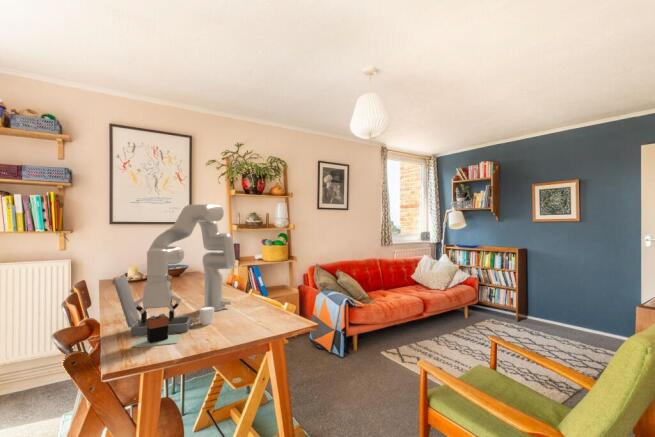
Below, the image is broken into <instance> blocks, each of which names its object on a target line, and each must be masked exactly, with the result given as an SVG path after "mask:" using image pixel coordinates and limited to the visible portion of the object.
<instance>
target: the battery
mask: <svg viewBox="0 0 655 437" xmlns="http://www.w3.org/2000/svg"><path fill="white" fill-rule="evenodd" d="M168 318H169V316H167V315H166V314H165V313H160V314H158V315H156V316H155V315H151V316H150V317H147V335H146V337H147V341H149V342H150V343H153V342H158V341H162V340H166V339H168V335H169V333H168Z"/></svg>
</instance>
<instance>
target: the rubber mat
mask: <svg viewBox="0 0 655 437" xmlns="http://www.w3.org/2000/svg"><path fill="white" fill-rule="evenodd" d="M181 336H182V334H181V333H180V334H168V339H166V340H162V341H158V342H153V343H150V342H149V341H147V336H145V337H144V336H143V337H138V338H137V339H136V341H135V342H134V343H133V344H132V345H131V346H130V348H131V349H134V348H133V347H136V348H143V347H144V348H145V347H153V346H154V347H155V346H156V347H157V346H167V345H176V344H177V343H178V341H179V340H180V338H181Z"/></svg>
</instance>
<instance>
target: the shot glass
mask: <svg viewBox="0 0 655 437" xmlns="http://www.w3.org/2000/svg"><path fill="white" fill-rule="evenodd" d="M202 307H203V306H202ZM202 307H201V308H199V310H198V311H199V320H200V321H199V322H200V324H201V325H205V326H207V325H211V324H213V323H214V316H215V311H214V307H203V308H202Z"/></svg>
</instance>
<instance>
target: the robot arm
mask: <svg viewBox="0 0 655 437" xmlns="http://www.w3.org/2000/svg"><path fill="white" fill-rule="evenodd" d="M224 214H225V212H224V208H223V206H221V205H220V204H188V205H186V206H184V207H183V208H182V210H181V212H180V213H179V215H178V217H177V219H176V220H175V222H174V224H173V226H171V227H169V228H168V229H166V230H165V231H163V232H162V233H160V234H159V235H158V236H157V237H156V238H154V240H153V241H152V243H151V245H150V247H149V249H148V251H146V283H144V287H143V288H144V289H143V297H141V298H140V299H138V300H136V301H135V300H134V303H133V304H134V306H135V307H136V309H137V312H138V313H139V314H140V318H141V321H143V323H145V322H146V321H147V319H148V316H147V315H148V314H147V311H146V310H147V309H159V308H167V309H168V310H169V312H168V318H169V321H172V319H173V318H174V317H175V310H176V309H177V308H178V307H179V305H180V303H181V301H182V298H180V297H177V296H175V295H173V290H172V289H173V288H172V284H171V280H172V278H173V276H172V275H169V265H177V264H180V263H181V262H182V261H183V260H184V258H185V252H184V250H183V249H182V248H181V247H179V246H169V245H171V244H173V243H176V242H178V241H179V242H180V241H182V240H184V239H187V238H189V237H190V236H191V235H192V233H193V231H194V229H195V227H196V226H197V224H199V227H200V230H201V238H202V243H203V244H202V245H203V248H204V249H205V250H206V251H208V252H206V253H205V254H204V255H203V257H202V266H203V273H204V276H203V277H204V278H203V280H204V285H203V286H204V289H203V290H204V292H203V293H204V302H203V303H204V305H203V306H201V308H203V307H214V312H217V311H218V312H219V311H222V310H224V309H226V306H230V305H231V303H232V301H231V300H224V298H223V274H222V272H221V271H220V270H231V269H233V268H234V267H235V265H236V254H235V253H236V252H235V245H234V238H233V237H232V235H231V234H229V233H227V232H225V233H224V232H223V233H222V232H221V233H220V232H219V228H218V227H219V226H218V222H220V221H221V220H222V219H223V218H224ZM173 301H175V302H176V303H175V304H174V305H173ZM141 303H142V306H141V305H140V304H141Z"/></svg>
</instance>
